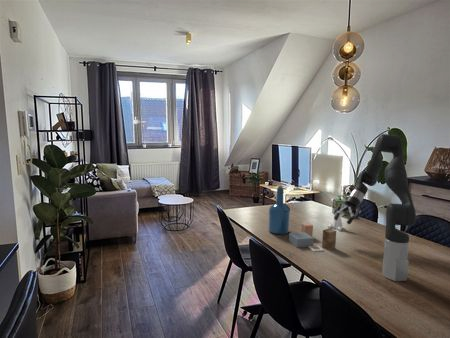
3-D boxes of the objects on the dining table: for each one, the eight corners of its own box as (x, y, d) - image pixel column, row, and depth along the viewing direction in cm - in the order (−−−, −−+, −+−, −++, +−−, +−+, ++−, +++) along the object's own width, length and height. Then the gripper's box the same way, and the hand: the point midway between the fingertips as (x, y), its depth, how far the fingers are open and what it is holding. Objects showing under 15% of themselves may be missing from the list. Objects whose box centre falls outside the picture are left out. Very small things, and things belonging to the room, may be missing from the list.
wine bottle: (264, 231, 194) (265, 185, 190) (275, 226, 203) (277, 183, 199) (282, 236, 184) (284, 188, 180) (293, 231, 194) (295, 185, 190)
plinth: (313, 246, 171) (313, 238, 170) (296, 247, 168) (297, 239, 168) (304, 240, 180) (304, 232, 180) (288, 241, 178) (289, 233, 177)
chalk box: (347, 216, 232) (349, 197, 230) (335, 215, 232) (336, 196, 230) (343, 212, 241) (344, 194, 239) (331, 212, 241) (332, 194, 239)
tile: (323, 250, 164) (323, 249, 164) (313, 251, 163) (313, 250, 163) (318, 246, 169) (318, 245, 169) (308, 247, 169) (308, 245, 168)
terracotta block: (312, 238, 183) (312, 225, 182) (304, 238, 182) (305, 225, 181) (308, 235, 188) (309, 222, 187) (301, 235, 187) (301, 223, 186)
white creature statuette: (326, 227, 203) (327, 210, 201) (333, 225, 208) (334, 208, 207) (340, 231, 196) (341, 213, 194) (346, 228, 201) (347, 211, 200)
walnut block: (335, 248, 168) (336, 230, 166) (329, 250, 165) (330, 232, 164) (327, 245, 172) (328, 228, 170) (322, 247, 169) (323, 230, 168)
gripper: (341, 193, 181) (328, 214, 176) (363, 197, 169) (350, 220, 164) (346, 200, 185) (333, 222, 180) (368, 205, 173) (355, 228, 168)
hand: (341, 221), depth 172 cm, fingers open, 8 cm apart
